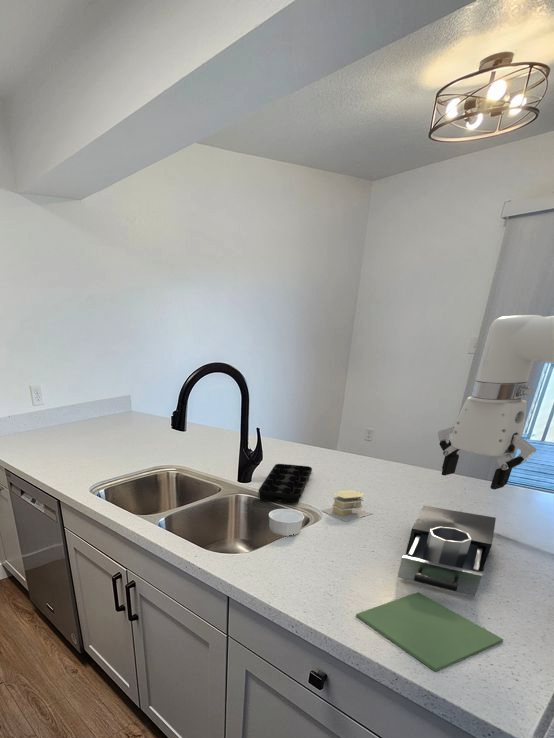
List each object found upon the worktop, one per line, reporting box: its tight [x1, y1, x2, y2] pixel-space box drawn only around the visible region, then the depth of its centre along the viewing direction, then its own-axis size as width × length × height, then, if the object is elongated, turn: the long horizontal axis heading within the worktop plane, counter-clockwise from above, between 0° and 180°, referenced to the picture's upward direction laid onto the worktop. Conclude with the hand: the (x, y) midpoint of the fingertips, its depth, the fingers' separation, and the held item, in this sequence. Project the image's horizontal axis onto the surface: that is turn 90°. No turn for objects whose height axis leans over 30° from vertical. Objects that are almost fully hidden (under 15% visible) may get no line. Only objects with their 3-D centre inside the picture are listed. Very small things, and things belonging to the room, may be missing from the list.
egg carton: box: [258, 463, 313, 505], centre depth 141 cm, size 18×30×4 cm, turn 167°
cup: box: [422, 527, 471, 568], centre depth 90 cm, size 7×7×8 cm
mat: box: [355, 591, 504, 673], centre depth 77 cm, size 16×16×1 cm
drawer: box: [396, 533, 484, 598], centre depth 89 cm, size 19×13×5 cm
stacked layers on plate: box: [320, 489, 373, 522], centre depth 122 cm, size 10×9×6 cm
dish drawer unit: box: [405, 505, 497, 573], centre depth 100 cm, size 16×15×7 cm
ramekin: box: [268, 508, 305, 537], centre depth 114 cm, size 9×9×4 cm
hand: (471, 480), depth 87 cm, fingers open, 9 cm apart
